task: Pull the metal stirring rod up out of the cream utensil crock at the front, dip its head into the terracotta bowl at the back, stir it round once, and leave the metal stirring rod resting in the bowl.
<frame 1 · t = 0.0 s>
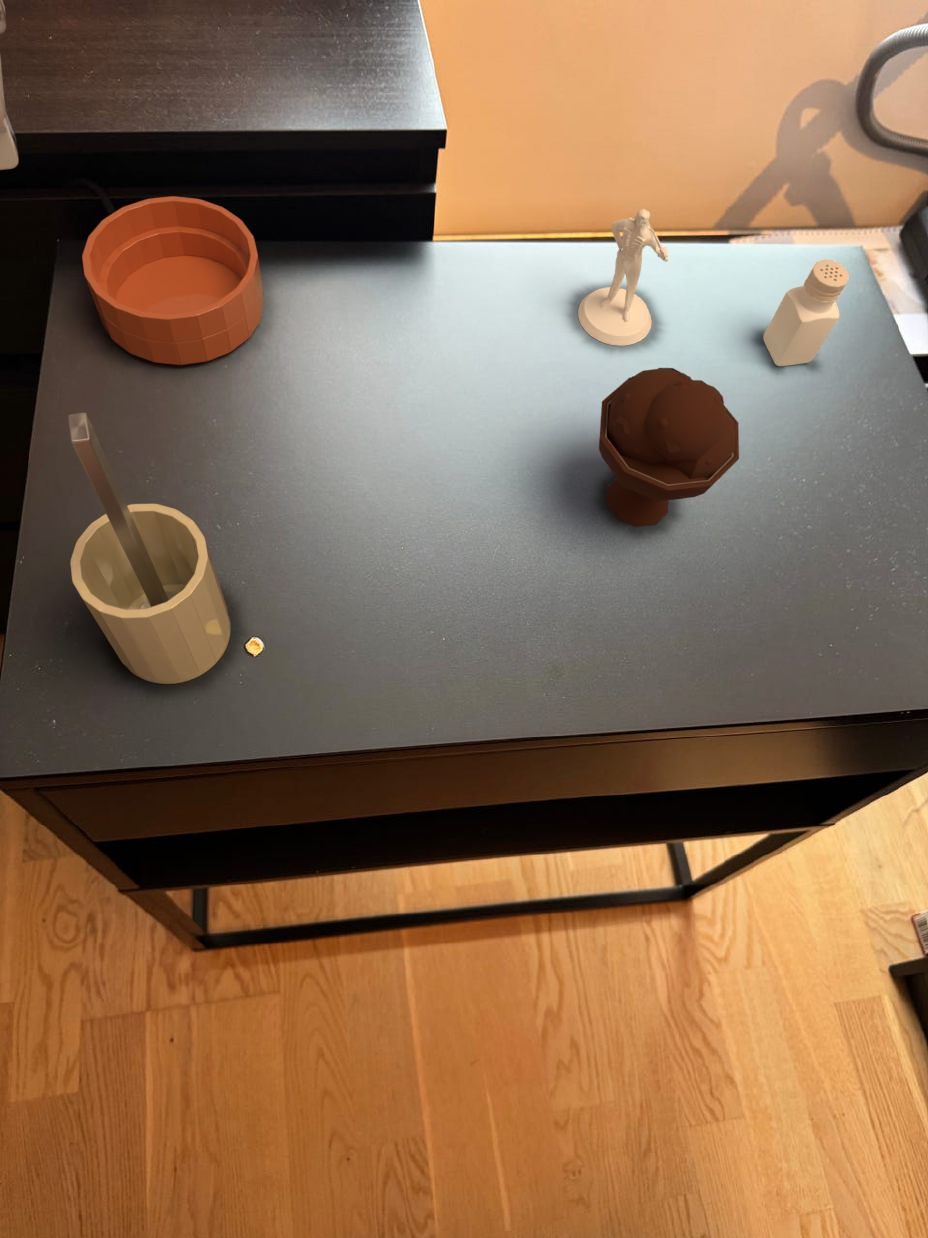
figurine: (614, 318, 86), on the nightstand
salt shaker: (785, 352, 86), on the nightstand
crock: (173, 632, 68), on the nightstand
ice cream bowl: (636, 500, 77), on the nightstand
bowl: (184, 308, 82), on the nightstand
metal stirring rod: (171, 627, 67), point 1 cm above the nightstand, touching crock
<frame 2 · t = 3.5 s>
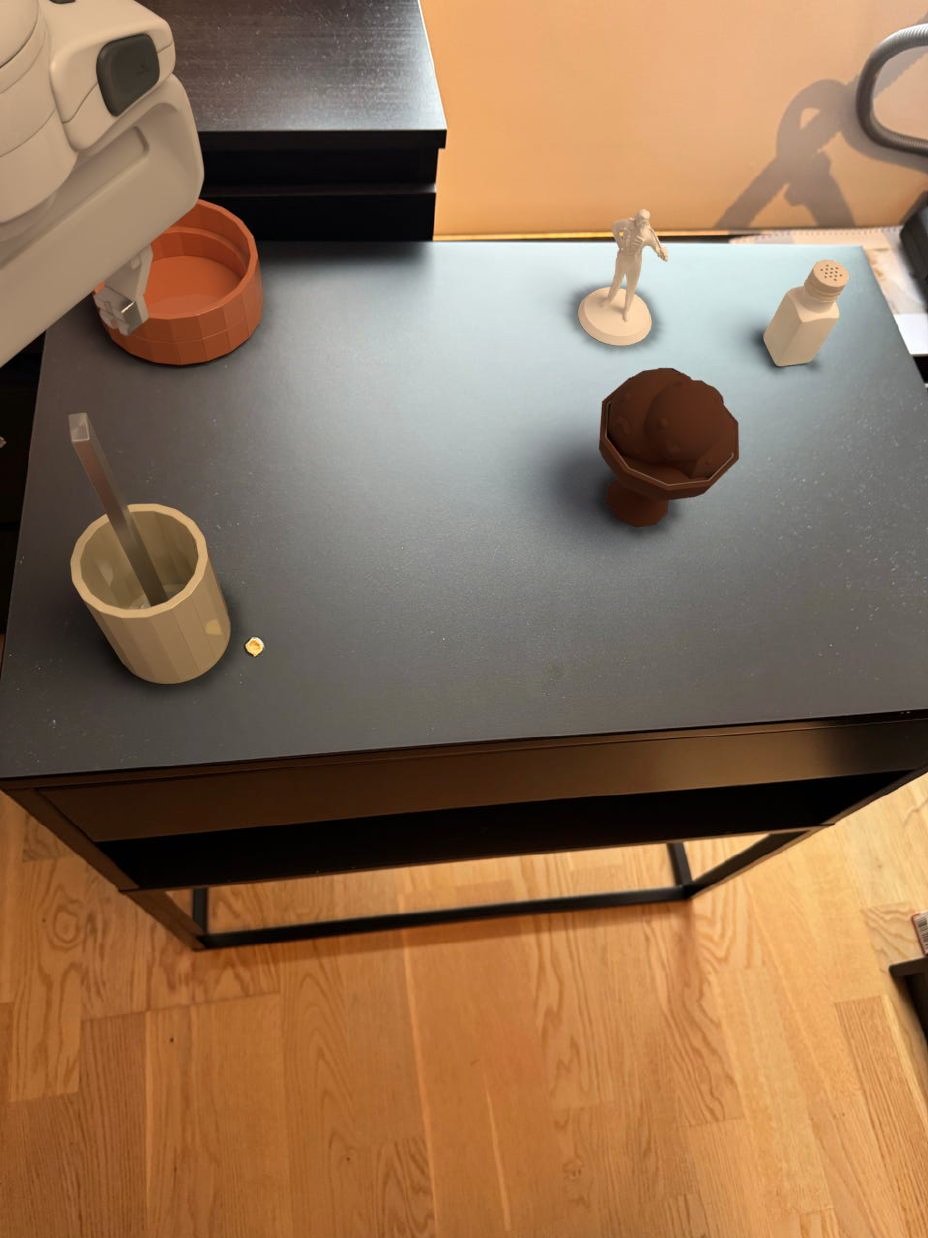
hand: (58, 382, 43), 28 cm above the nightstand, tool pointing down, fingers open, 8 cm apart
nothing on the nightstand moved.
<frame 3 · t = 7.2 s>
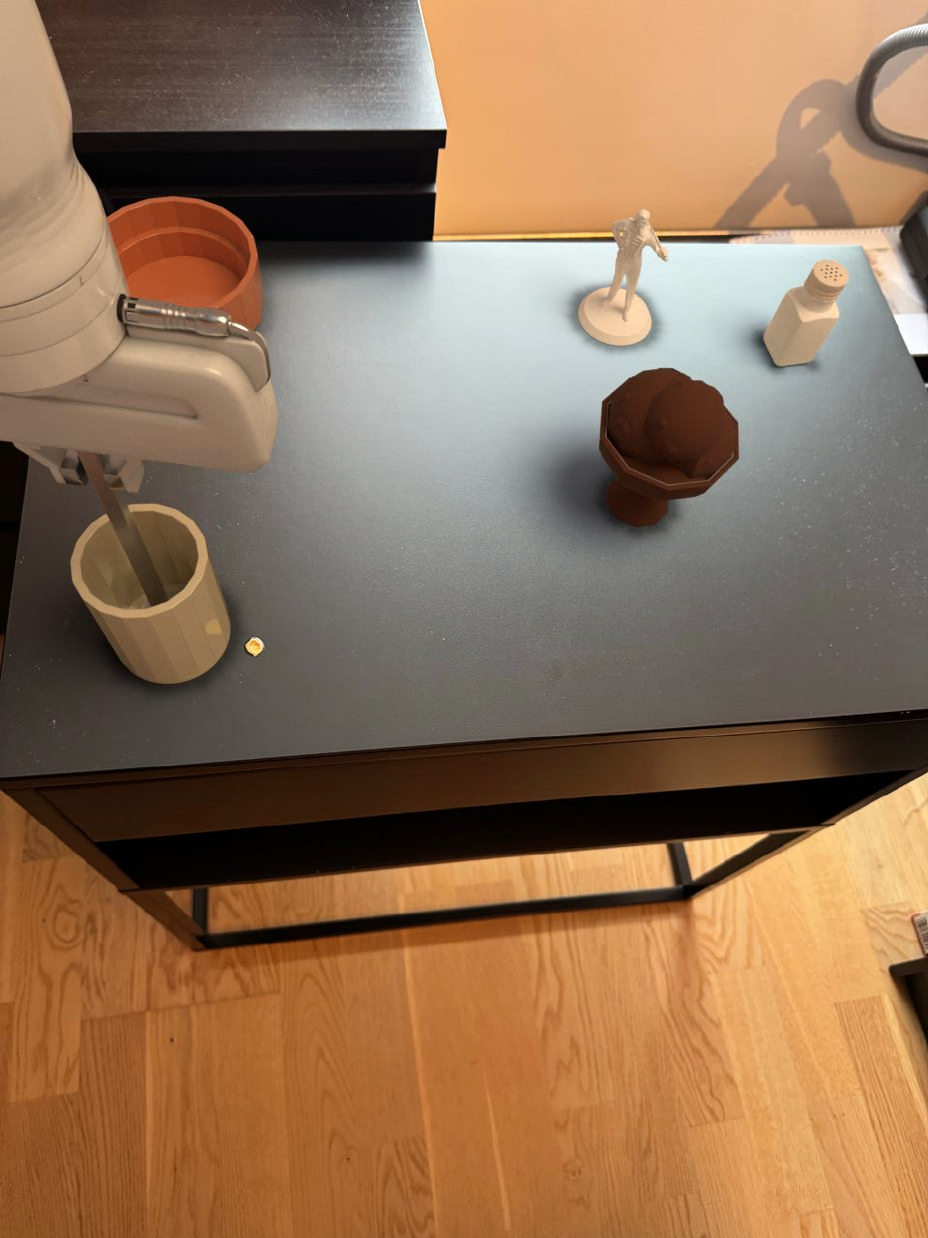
hand: (102, 478, 50), 20 cm above the nightstand, tool pointing down, fingers closed on metal stirring rod
metal stirring rod: (171, 627, 67), point 1 cm above the nightstand, touching gripper
everything else where it was.
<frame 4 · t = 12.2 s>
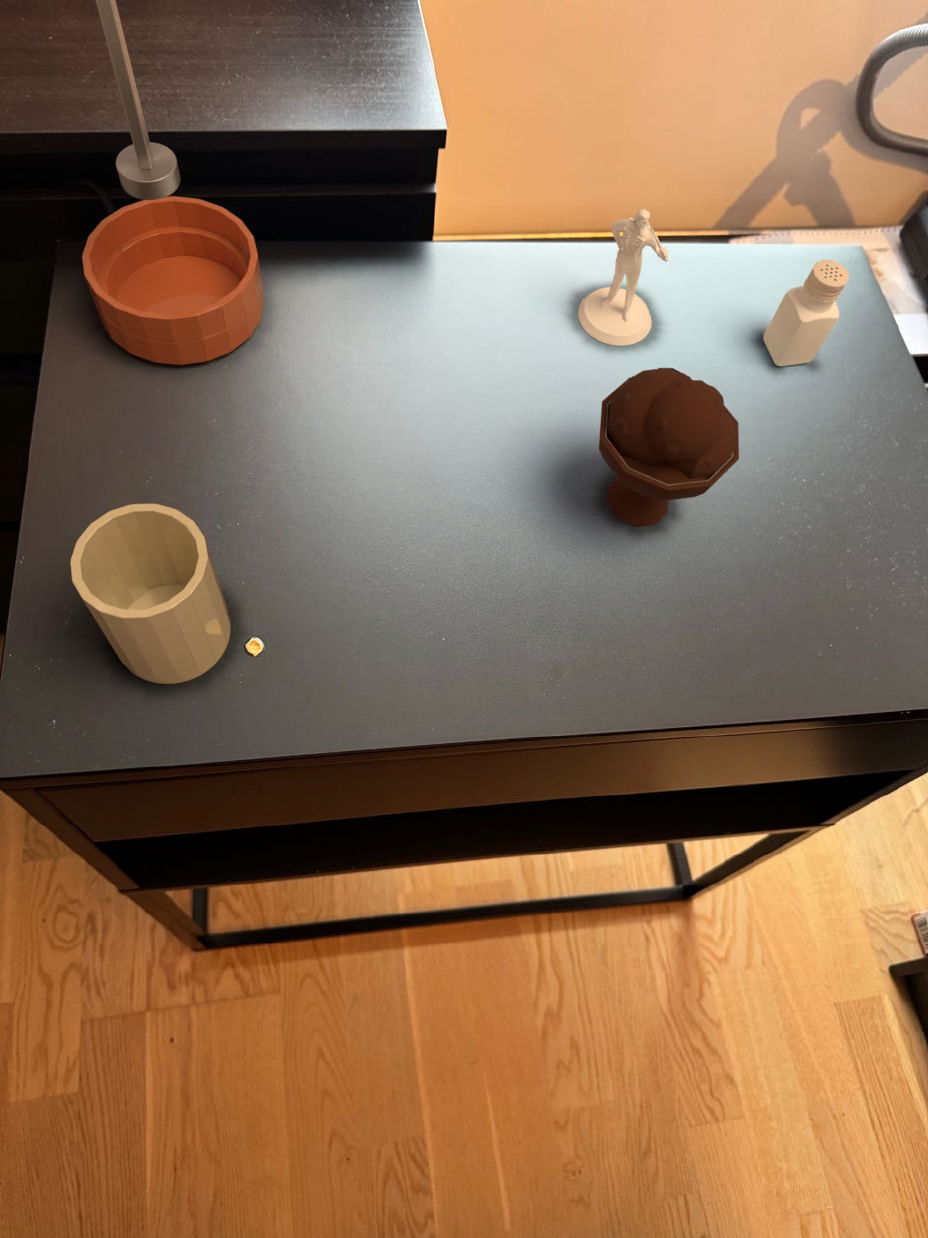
metal stirring rod: (150, 179, 69), point 14 cm above the nightstand, touching gripper
everything else where it was.
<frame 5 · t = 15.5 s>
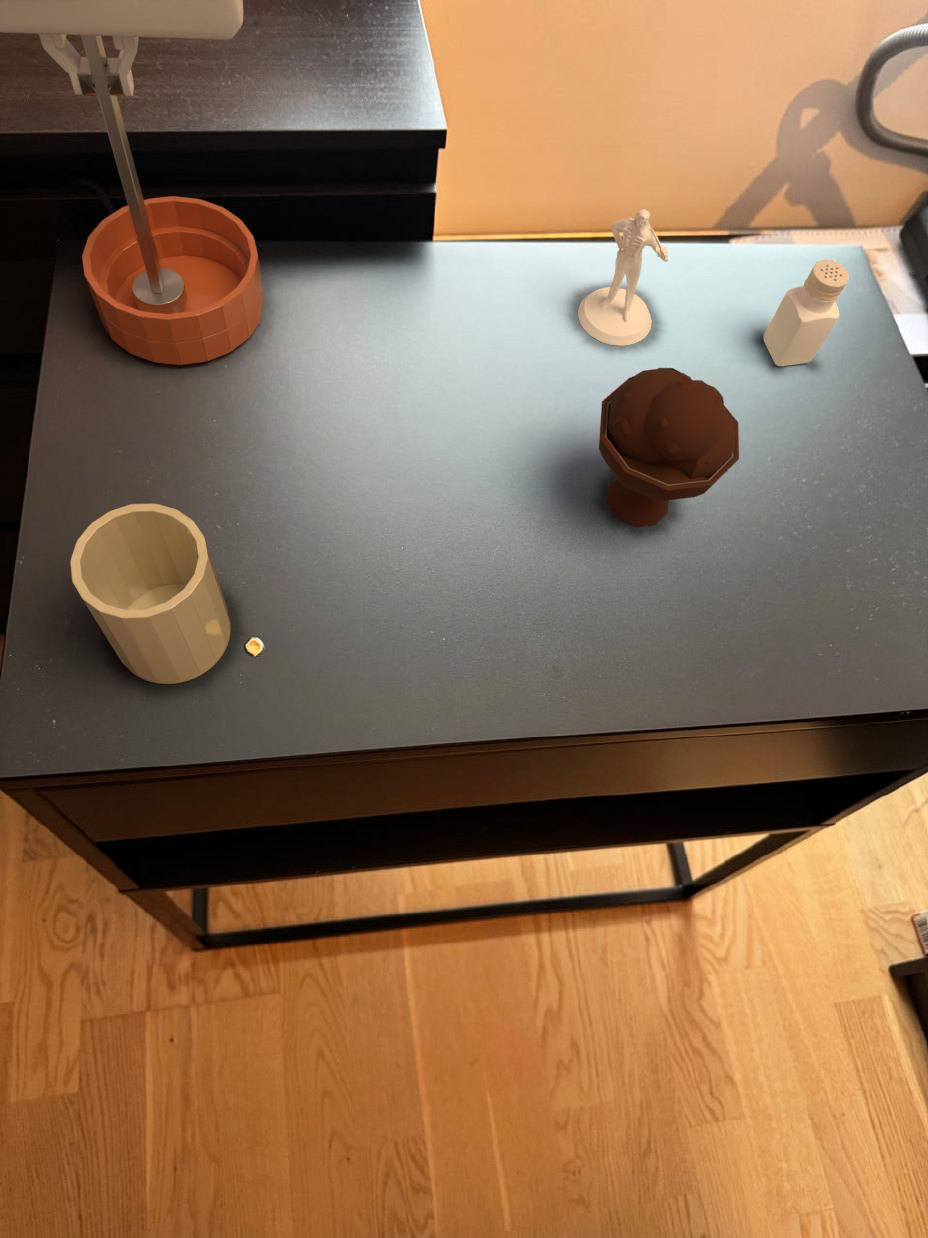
hand: (105, 90, 63), 21 cm above the nightstand, tool pointing down, fingers closed on metal stirring rod
metal stirring rod: (161, 299, 80), point 1 cm above the nightstand, touching gripper
everything else where it was.
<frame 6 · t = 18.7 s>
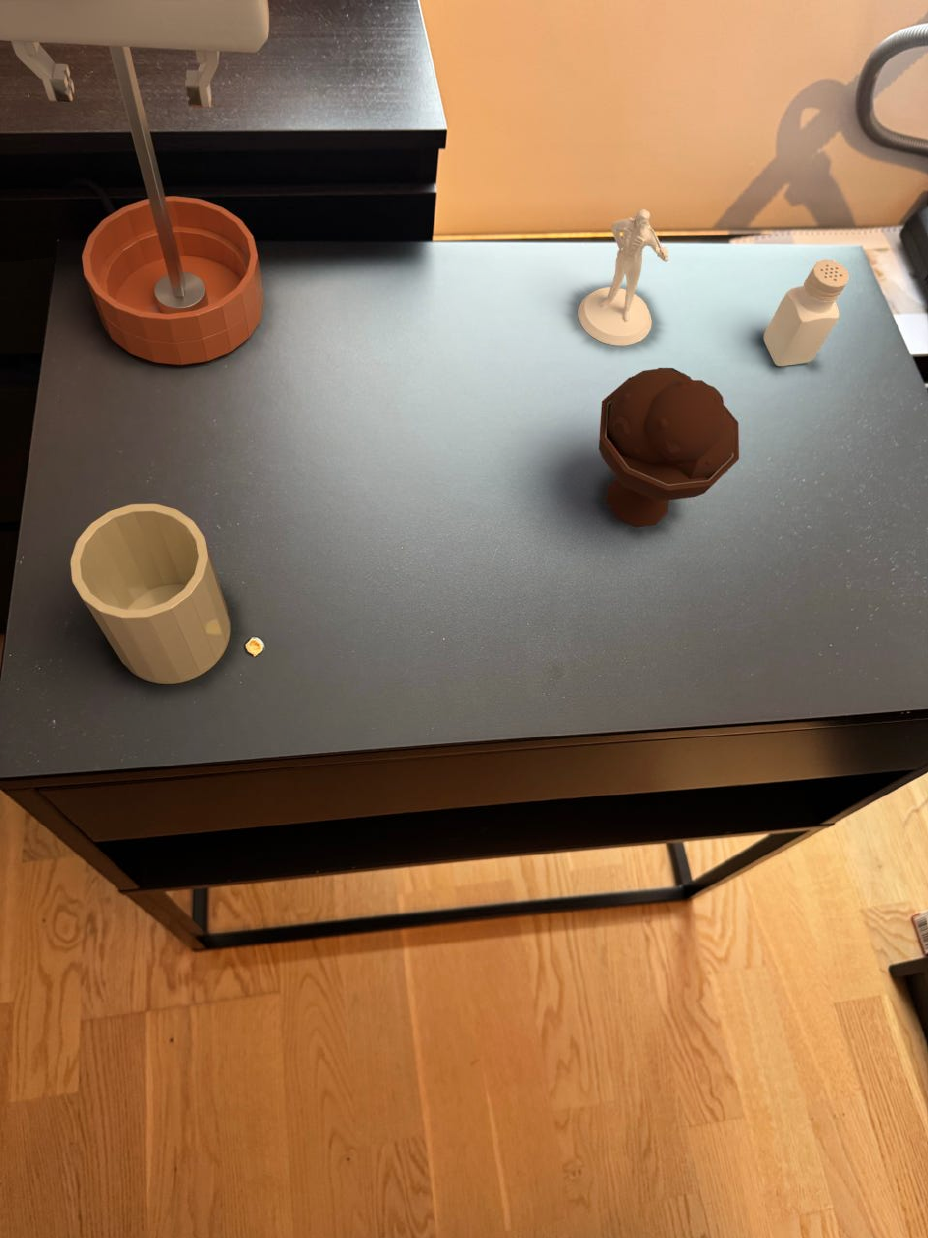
hand: (132, 99, 64), 20 cm above the nightstand, tool pointing down, fingers open, 8 cm apart
metal stirring rod: (183, 302, 81), point 1 cm above the nightstand, touching bowl
everything else where it was.
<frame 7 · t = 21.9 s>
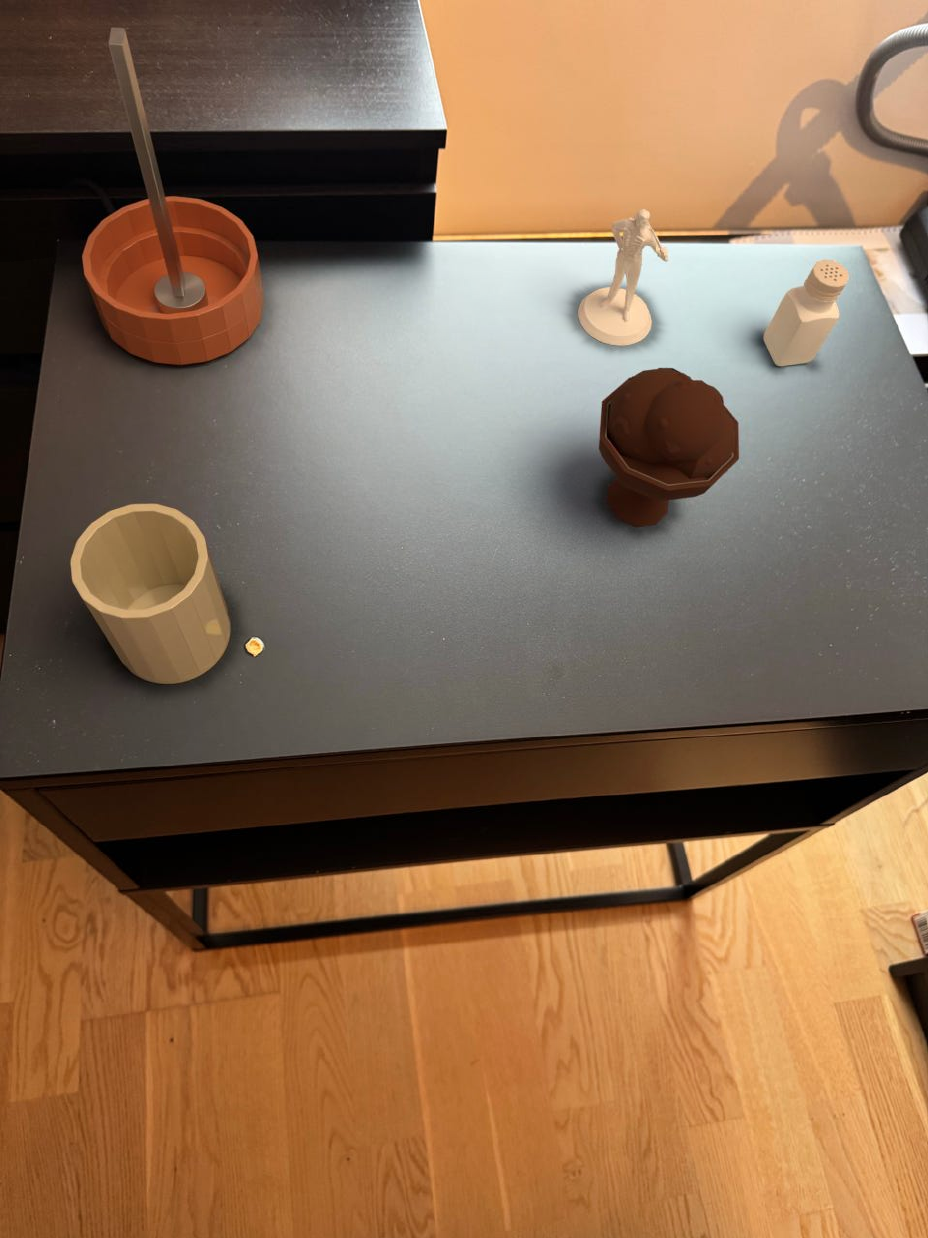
nothing on the nightstand moved.
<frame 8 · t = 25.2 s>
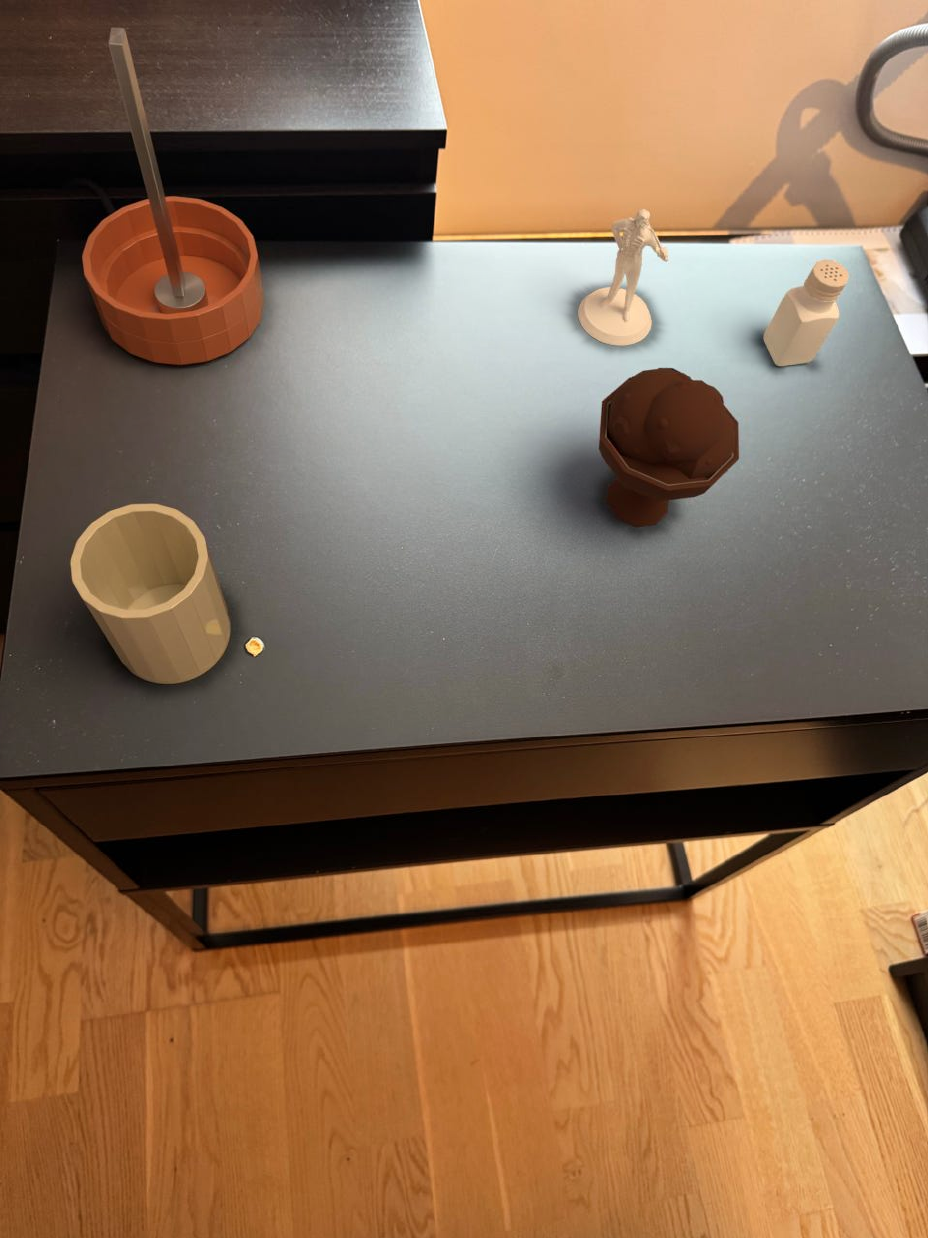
nothing on the nightstand moved.
at the end: metal stirring rod inside the target area in the bowl (0.0 cm from its centre), point 0.6 cm above the bowl's base; the gripper is holding nothing; metal stirring rod moved 32.4 cm from its start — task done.
